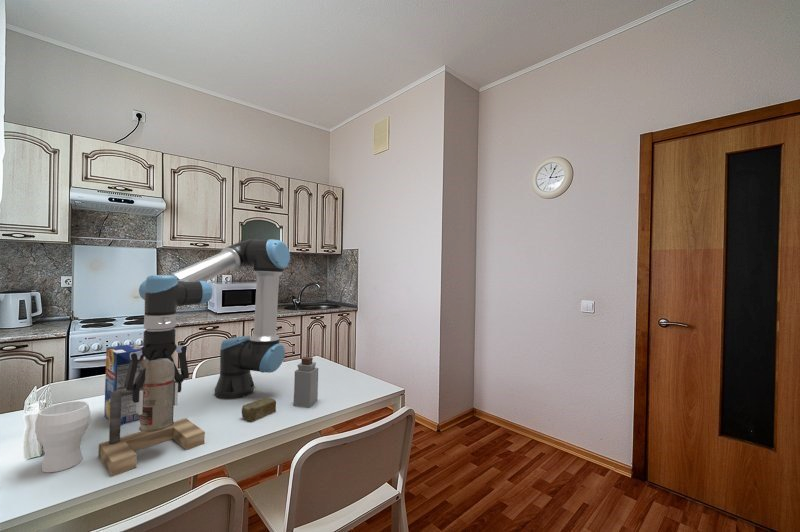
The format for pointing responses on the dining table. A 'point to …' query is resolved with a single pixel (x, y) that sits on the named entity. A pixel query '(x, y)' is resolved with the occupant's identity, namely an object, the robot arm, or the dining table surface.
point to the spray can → (157, 394)
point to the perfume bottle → (306, 383)
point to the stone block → (258, 409)
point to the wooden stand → (141, 438)
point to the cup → (62, 434)
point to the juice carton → (120, 380)
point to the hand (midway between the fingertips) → (157, 408)
